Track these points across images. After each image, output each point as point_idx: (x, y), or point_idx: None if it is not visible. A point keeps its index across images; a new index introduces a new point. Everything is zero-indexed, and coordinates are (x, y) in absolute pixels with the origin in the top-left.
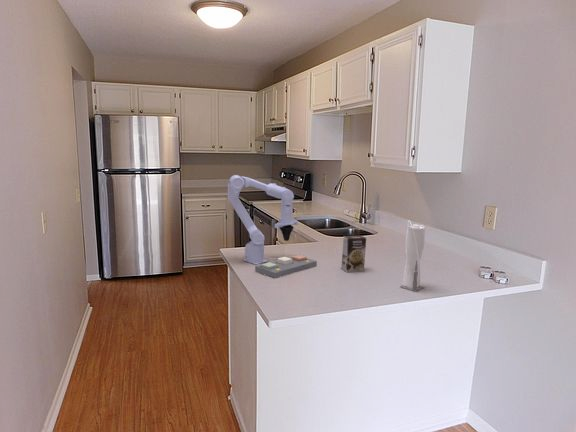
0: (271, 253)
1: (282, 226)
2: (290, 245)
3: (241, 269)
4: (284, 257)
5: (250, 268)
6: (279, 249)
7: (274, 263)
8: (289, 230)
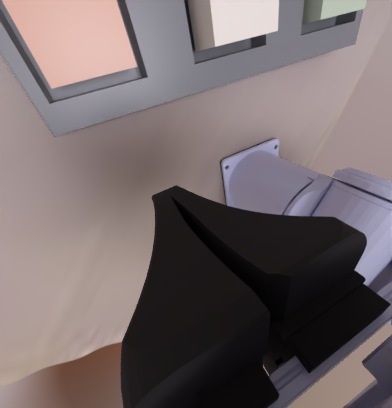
0: (147, 264)
1: (386, 301)
2: (6, 369)
3: (335, 104)
4: (228, 23)
5: (313, 100)
6: (89, 312)
7: (279, 27)
8: (215, 260)
